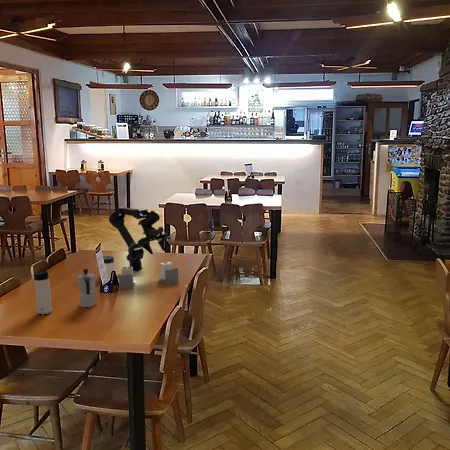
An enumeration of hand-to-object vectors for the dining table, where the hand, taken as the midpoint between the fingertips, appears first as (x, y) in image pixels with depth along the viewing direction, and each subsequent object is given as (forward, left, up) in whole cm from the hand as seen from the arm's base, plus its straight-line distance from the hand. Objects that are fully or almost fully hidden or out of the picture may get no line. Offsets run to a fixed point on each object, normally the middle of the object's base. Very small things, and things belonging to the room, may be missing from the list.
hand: (158, 252), depth 274 cm
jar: (-27, -13, -14) cm, 33 cm away
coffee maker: (-9, -54, -14) cm, 57 cm away
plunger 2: (+8, -7, -13) cm, 16 cm away
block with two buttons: (-7, -22, -13) cm, 26 cm away
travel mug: (-22, -69, -14) cm, 74 cm away
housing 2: (+10, -7, -14) cm, 19 cm away
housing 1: (-6, -24, -14) cm, 28 cm away
